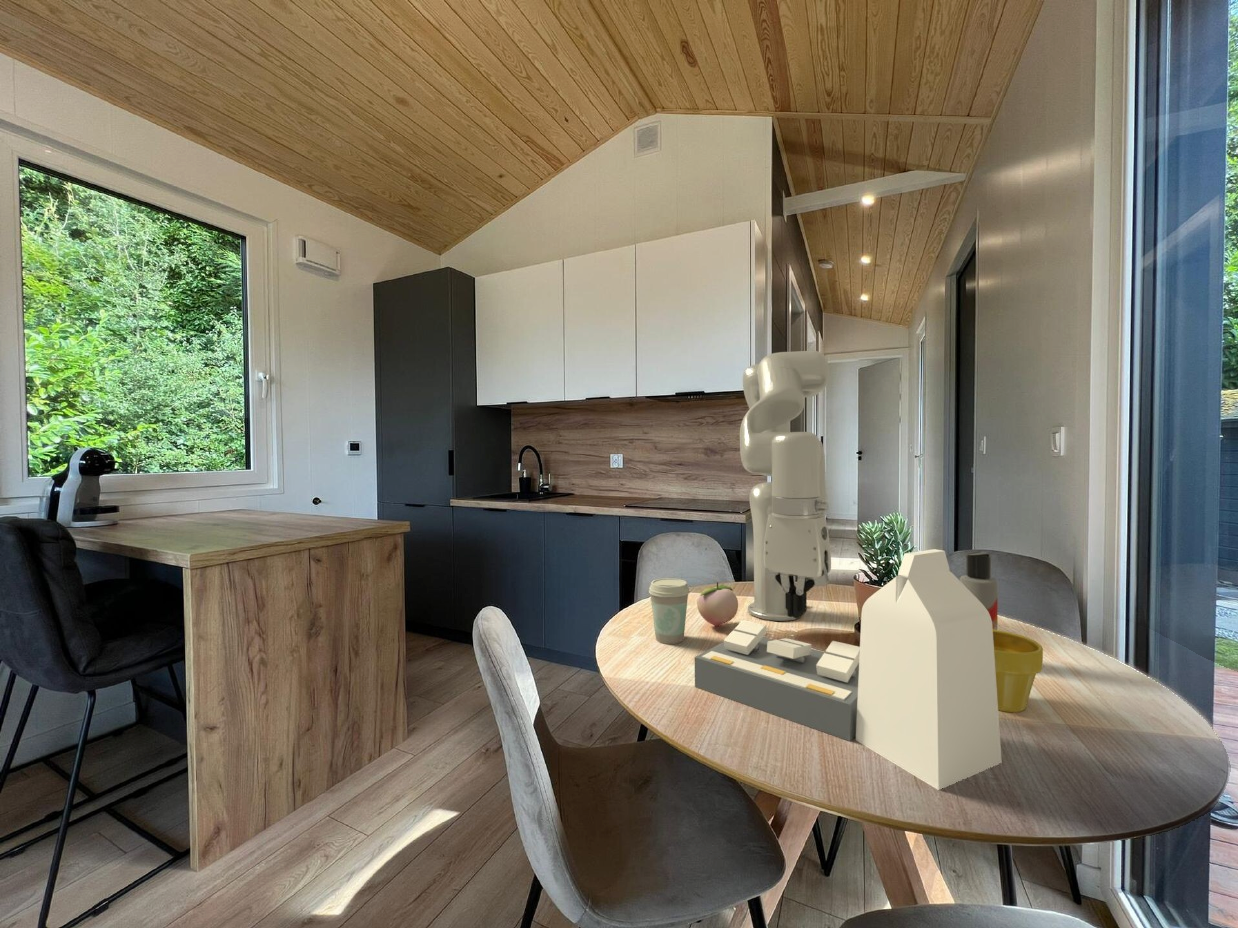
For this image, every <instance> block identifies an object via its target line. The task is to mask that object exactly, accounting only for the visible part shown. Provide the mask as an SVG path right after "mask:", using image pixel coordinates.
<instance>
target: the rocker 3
mask: <svg viewBox="0 0 1238 928" xmlns="http://www.w3.org/2000/svg"><path fill="white" fill-rule="evenodd" d="M823 652H824V654H823V656H822V657H821V659H820V660H819V661H818V663H817V664H816V668H817V674H818V675H822V676H825V677H829V678H832V679H836V680H839V681H843V682H848V681H849V679H850V677H851V675H852V674H853V672H854V670H855V668H856V667H857V665H858V663H859V657H860V646H858V645H853V644H849V643H845V642H839V641H836V640H832V641H831V642H830V644H829V645H828V647H827V648H826V650H825V651H823Z"/></svg>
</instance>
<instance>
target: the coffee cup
mask: <svg viewBox="0 0 1238 928" xmlns="http://www.w3.org/2000/svg"><path fill="white" fill-rule="evenodd" d="M648 589H649V590H648V593H649V595H650V596H649V597H650V601H651V603H650V604H651V609H652V619H653V620H652V621H653V625H654V634H655V640H656V641H657V642H658V643H660V644H664V645H676V644H680V643H683V641H684V640H685V639H684V638H685V632H686V631H685V629H686V621H687V620H686V619H687V608H688V598H689V594H690V592H691V591H690V588H689V585H688V582H687V581H686V580H684V579H680V578H671V577H668V578H666V577H665V578H664V577H663V578H657V579H653V580H652V581H651V583H650V586H649V587H648Z"/></svg>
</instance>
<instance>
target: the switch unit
mask: <svg viewBox="0 0 1238 928" xmlns="http://www.w3.org/2000/svg"><path fill="white" fill-rule="evenodd" d="M773 640H775V639H773V638H769V637H765V636H764V637H763V638H762V639H761V640H760V642H759V643H758V644H757V645H756V646H755V647H754V649H753V650H752V651H751V652H750V653H749V654H748V655H746V654H742V653H739V652H735V651H732V650H728V649H725V647H724V641H722V642H721V643H720V642H719V643H718V644H717V645H714V646H713V647H711V648H709V649H707V650H705V651H703V652H702V653H700V654H698V655H696V656H694V687H695V688H696V689H697V688H698V689H700V690H702V691H706V692H709V693H712V694H714V695H717V696H720V697H723V698H726V699H729V700H732V701H735V702H736V703H740V704H743V705H745V706H749V707H751V708H754V709H756V710H760V711H763V712H765V713H768V714H771V715H773V716H777V717H780V718H782V719H786V720H787V721H791V722H794V723H797V724H799V725H802V726H805V727H808V728H811V729H813V730H817V731H820V732H822V733H825V734H828V735H831V736H834V737H837V738H840V739H842V740H845V741H848V742H851V740H852V739H853V738H855V737H856V723H857V701H858V679H859V663H858V665H857V667H856V668H855V670H854V672H853V674H852V675H851V677H850V679H849V681H848V682H843V681H839V680H836V679H832V678H829V677H825V676H822V675H818V674H817V668H816V664H817V663H818V661H819V660H820V659H821V657H822V656H823V654H824V652H825V651H822V650H818V649H814V648H811V654H810V655H806V656H802V657H798V658H794V659H792V658H789V657H785V656H781V655H777V654H774V653H770V652H767V642H768V641H773Z"/></svg>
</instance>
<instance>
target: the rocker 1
mask: <svg viewBox="0 0 1238 928" xmlns="http://www.w3.org/2000/svg"><path fill="white" fill-rule="evenodd" d="M766 635H767V627H766V625H765V624H763V623H758V622H754V621H749V620H745V619H742V620H741V621H740V622H739V623H738V625H737V626H735V628H733V629H732V631H730V633H729V634H727V636H726V637H725V638H724V639H723V641H722V642H724V647H725V649H728V650H732V651H735V652H739V653H742V654H746V655H748V654H749V653H750V652H751V651H752V650H753V649H754V647H755V646H756V645H757V644H758V643H759V642H760V640H761V639H762V638H763V637H765V636H766Z"/></svg>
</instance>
